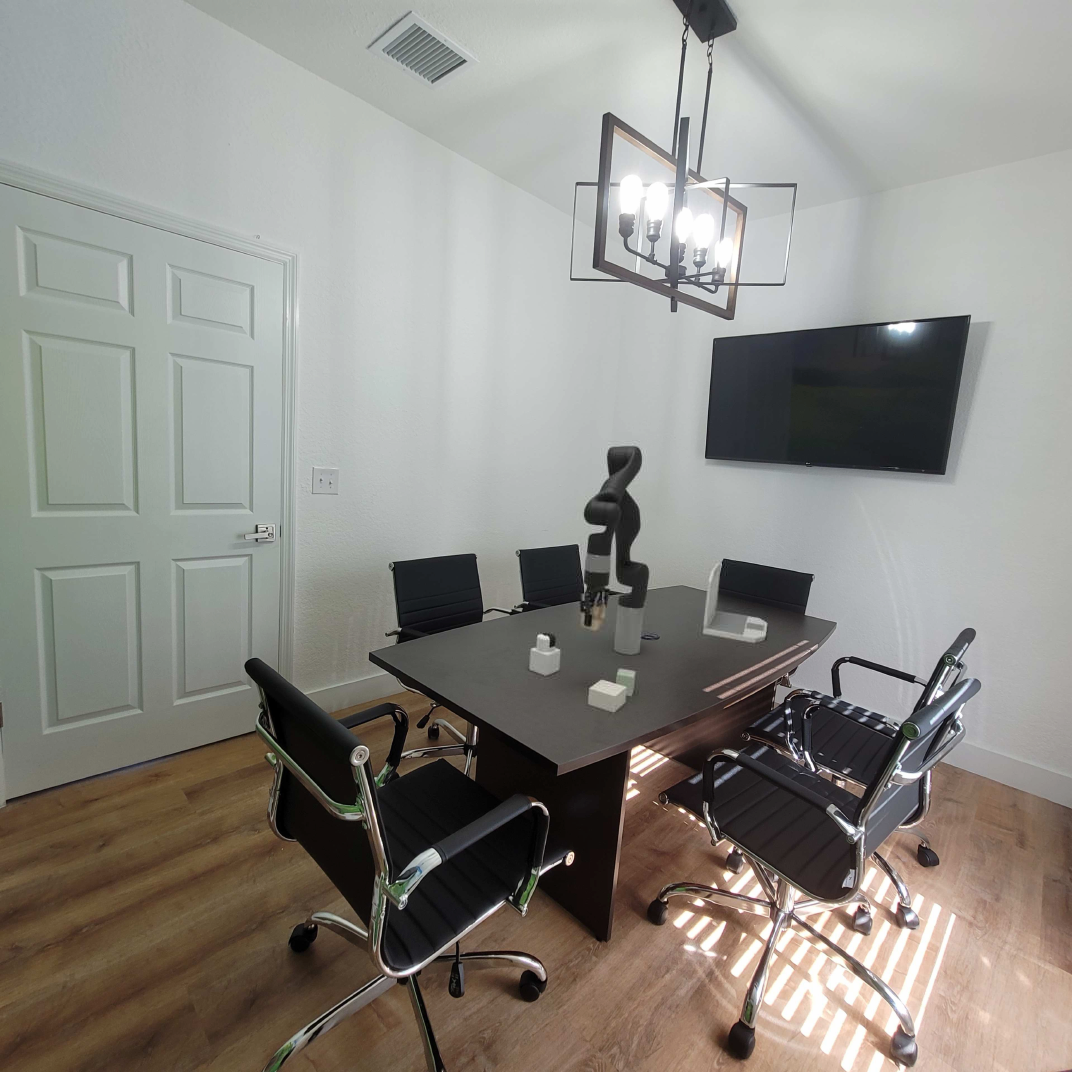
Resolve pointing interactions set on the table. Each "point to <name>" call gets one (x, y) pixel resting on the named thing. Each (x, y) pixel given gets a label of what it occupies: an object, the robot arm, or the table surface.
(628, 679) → the sage block
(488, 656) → the table surface
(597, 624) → the maple block
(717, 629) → the laptop
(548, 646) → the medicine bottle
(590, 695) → the cream base block
